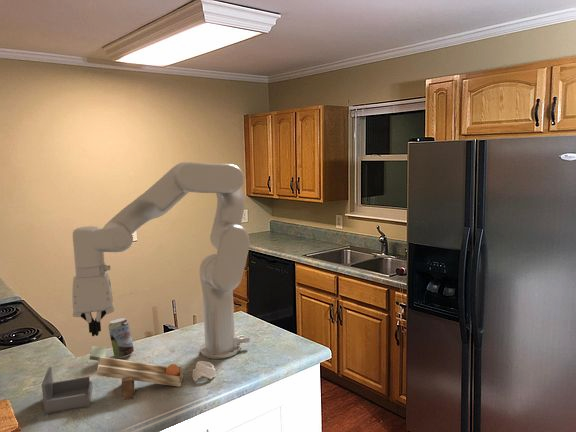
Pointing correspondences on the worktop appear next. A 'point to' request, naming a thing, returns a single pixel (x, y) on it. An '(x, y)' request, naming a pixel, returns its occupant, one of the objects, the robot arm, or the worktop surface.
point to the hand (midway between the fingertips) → (95, 334)
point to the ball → (172, 370)
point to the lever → (133, 369)
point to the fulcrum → (127, 388)
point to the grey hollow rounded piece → (203, 370)
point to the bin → (65, 394)
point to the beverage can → (120, 337)
